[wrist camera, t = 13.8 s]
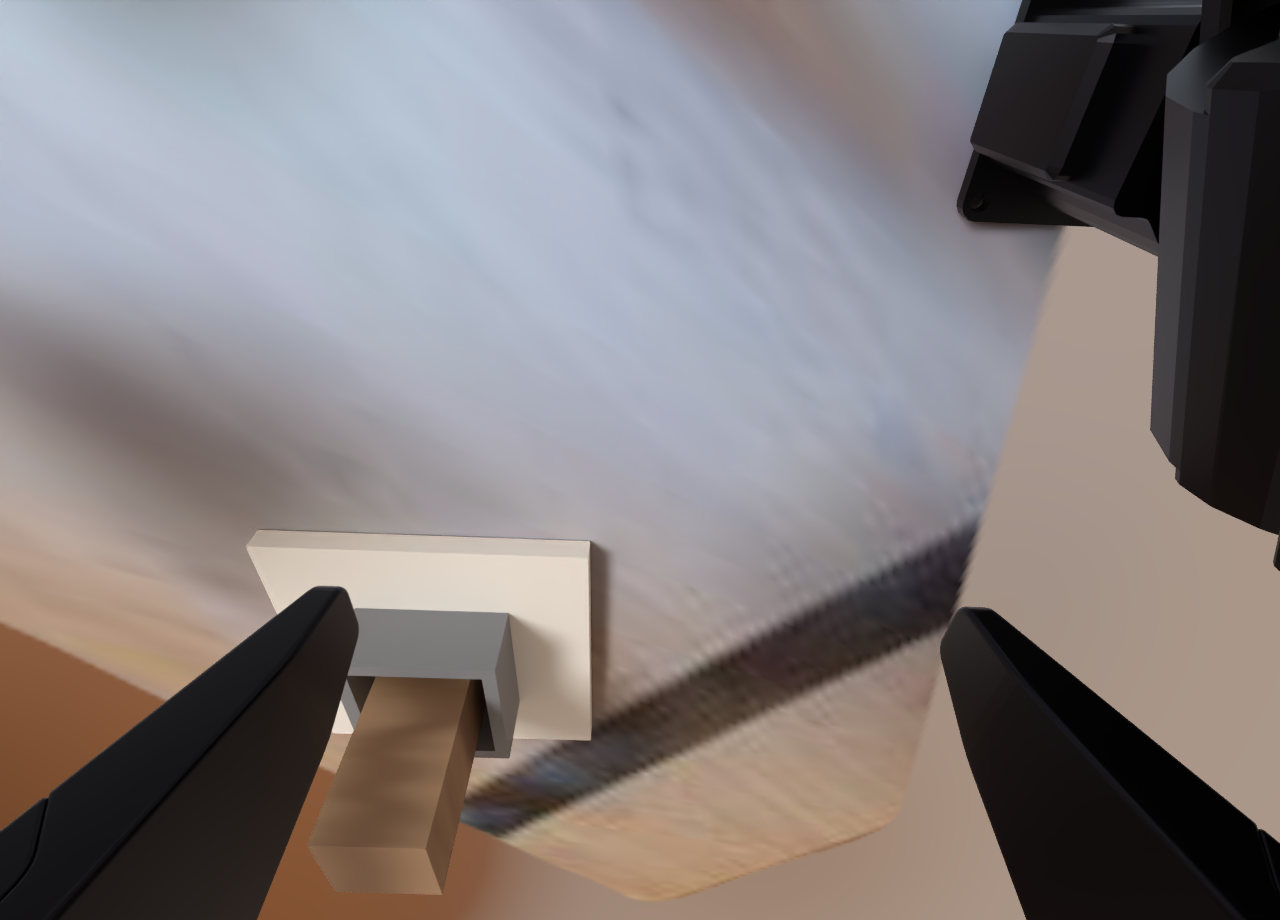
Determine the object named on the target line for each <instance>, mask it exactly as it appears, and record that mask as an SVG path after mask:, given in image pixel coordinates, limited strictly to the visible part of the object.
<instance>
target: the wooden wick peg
mask: <svg viewBox="0 0 1280 920" xmlns="http://www.w3.org/2000/svg"><path fill="white" fill-rule="evenodd" d="M485 707H486V699H485V694H484V689H483V683H482V680H481V679H448V678H414V677H381V676H376V677H375V680H374V682H373V685H372V687H371V690H370V692H369V694H368V697H367V699H366V702H365V704H364V707H363V709H362V712H361V714H360V716H359V719H358V721H357V724H356V726H355V729H354V731H353V734H352V736H351V738H350V741H349V743H348V746H347V748H346V751H345V753H344V756H343V758H342V760H341V763H340V765H339V768H338V770H337V773H336V775H335V778H334V780H333V782H332V785H331V787H330V790H329V793H328V795H327V797H326V800H325V802H324V804H323V807H322V809H321V812H320V814H319V817H318V819H317V822H316V824H315V826H314V829H313V832H312V834H311V837H310V839H309V841H308V844H307V847H308V848H309V850H310V852H311V853H312V855H313V856H314V858H315V860H316V861H317V863H318V864H319V866H320V868H321V869H322V871H323V872H324V874H325V875H326V877H327V879H328V880H329V882H330V884H331V885H332V887H333V888H334V890H335V892H363V893H364V892H365V893H402V894H440V895H441V894H442V893H443V889H444V884H445V880H446V876H447V871H448V867H449V863H450V858H451V854H452V849H453V846H454V841H455V837H456V833H457V828H458V824H459V820H460V815H461V811H462V807H463V802H464V798H465V794H466V789H467V785H468V781H469V777H470V772H471V768H472V764H473V759H474V755H475V751H476V746H477V742H478V738H479V733H480V729H481V725H482V720H483V716H484V712H485Z"/></svg>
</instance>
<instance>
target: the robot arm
mask: <svg viewBox="0 0 1280 920" xmlns="http://www.w3.org/2000/svg"><path fill="white" fill-rule="evenodd" d="M970 142H971V144H972V146H973V148H974V150H973V153H972V156H971V159H970V162H969V166H968V169H967V172H966V175H965V178H964V181H963V184H962V187H961V190H960V193H959V196H958V199H957V209H958V212H959V213H960V214H961V215H962V216H963V217H965V218H966V219H968V220H971V221H974V222H997V223H1019V224H1042V225H1064V226H1087V227H1096V228H1098V229H1100V230H1102V231H1104V232H1106V233H1108V234H1111V235H1113V236H1115V237H1117V238H1119V239H1121V240H1123V241H1125V242H1128V243H1130V244H1132V245H1134V246H1136V247H1139V248H1141V249H1143V250H1145V251H1147V252H1149V253H1151V254H1153V255H1156V256H1158V274H1157V295H1156V296H1157V297H1156V317H1155V339H1154V361H1153V362H1154V363H1153V383H1152V384H1153V385H1152V404H1151V405H1152V406H1151V428H1150V430H1151V432H1152V433H1153V435H1154V437H1155V438H1156V440H1157V442H1158V444H1159V445H1160V447H1161V448H1162V450H1163V452H1164V454H1165V455H1166V457H1167V458H1168V460H1169V462H1171V464H1173V465H1174V466H1175V467H1176V474H1175V479H1176V480H1177V482H1178V483H1179V484H1180V485H1181V486H1182V487H1184V488H1185V489H1187V490H1188V491H1189V492H1191V493H1192V494H1194V495H1195V496H1197V497H1198V498H1200V499H1201V500H1202V501H1204V502H1205V503H1207V504H1208V505H1210V506H1211V507H1213V508H1215V509H1218V510H1220V511H1222V512H1224V513H1226V514H1229V515H1231V516H1233V517H1235V518H1237V519H1240V520H1242V521H1244V522H1246V523H1248V524H1251V525H1253V526H1255V527H1257V528H1259V529H1262V530H1265V531H1268V532H1271V533H1274V534H1277V535H1279V537H1278V542H1277V546H1276V551H1275V556H1274V560H1273V563H1274V566H1275V567H1276V568H1277V569H1278V570H1279V571H1280V0H1022V3H1021V6H1020V9H1019V12H1018V16H1017V19H1016V22H1015V24H1014V25H1013V26H1012V27H1011V28H1010V29H1009V30H1008V31H1007V32H1006V33H1005V34H1004V36H1003V39H1002V42H1001V45H1000V49H999V52H998V55H997V58H996V61H995V64H994V67H993V70H992V73H991V77H990V80H989V83H988V86H987V89H986V92H985V95H984V98H983V102H982V105H981V108H980V111H979V114H978V117H977V120H976V123H975V126H974V130H973V133H972V136H971V139H970ZM980 194H983V195H984V200H983V202H982V204H981V205H980V206H979V207H977V208H975V209H972V208H971V205H972V202H973V200H974V198H975V197H977V196H978V195H980ZM358 636H359V623H358V620H357V617H356V614H355V611H354V608H353V605H352V603H351V600H350V597H349V594H348V592H347V590H346V589H345V588H343V587H340V586H316V587H313V588H311V589H310V590H308V591H307V592H306V593H304V594H303V595H302V596H300V597H299V598H298V599H297V600H295V601H294V602H293V603H292V604H290V605H289V606H288V607H286V608H285V609H284V610H283V611H281V612H280V613H279V614H277V615H276V616H275V617H274V618H272V619H271V620H270V621H268V622H267V623H266V624H265V625H263V626H262V627H261V628H260V629H258V630H257V631H256V632H254V633H253V634H252V635H251V636H249V637H248V638H247V639H245V640H244V641H243V642H242V643H240V644H239V645H238V646H237V647H235V648H234V649H233V650H231V651H230V652H229V653H228V654H226V655H225V656H224V657H222V658H221V659H220V660H219V661H217V662H216V663H215V664H213V665H212V666H211V667H210V668H208V669H207V670H206V671H205V672H203V673H202V674H201V675H199V676H198V677H197V678H196V679H194V680H193V681H192V682H190V683H189V684H188V685H187V686H185V687H184V688H183V689H182V690H180V691H179V692H178V693H176V694H175V695H174V696H173V697H171V698H170V699H169V700H167V701H166V702H165V703H164V704H162V705H161V706H160V707H158V709H156V710H155V711H153V712H152V713H151V714H150V715H148V716H147V717H146V718H144V719H143V720H142V721H141V722H139V723H138V724H137V725H136V726H134V727H133V728H132V729H130V730H129V731H128V732H127V733H125V734H124V735H123V736H121V737H120V738H119V739H118V740H116V741H115V742H114V743H112V744H111V745H110V746H109V747H107V748H106V749H105V750H104V751H102V752H101V753H100V754H98V755H97V756H96V757H95V758H93V759H92V760H91V761H89V762H88V763H87V764H86V765H84V766H83V767H82V768H80V769H79V770H78V771H77V772H75V773H74V774H73V775H72V776H70V777H69V778H68V779H66V780H65V781H64V782H63V783H61V784H60V785H59V786H57V787H56V788H55V789H54V790H52V791H51V793H50V794H49V797H48V798H42V799H41V800H39V801H38V802H37V803H35V804H34V805H33V806H31V807H30V808H29V809H28V810H26V811H25V812H24V813H23V814H21V815H20V816H19V817H18V818H17V819H15V820H14V821H12V822H11V823H10V824H9V825H7V826H6V827H5V828H3V829H2V830H1V831H0V920H257V918H258V916H259V913H260V910H261V908H262V906H263V903H264V901H265V898H266V896H267V893H268V891H269V888H270V886H271V883H272V881H273V878H274V876H275V873H276V871H277V868H278V866H279V863H280V861H281V859H282V856H283V854H284V851H285V849H286V846H287V844H288V841H289V839H290V836H291V834H292V831H293V829H294V826H295V824H296V821H297V819H298V816H299V814H300V811H301V809H302V806H303V804H304V801H305V799H306V797H307V794H308V792H309V789H310V787H311V784H312V782H313V779H314V777H315V774H316V772H317V769H318V767H319V764H320V762H321V759H322V757H323V754H324V752H325V749H326V746H327V744H328V741H329V738H330V735H331V732H332V728H333V725H334V722H335V718H336V715H337V711H338V708H339V704H340V701H341V697H342V694H343V690H344V686H345V683H346V679H347V676H348V672H349V669H350V665H351V662H352V658H353V655H354V651H355V647H356V644H357V640H358ZM940 654H941V660H942V664H943V668H944V672H945V675H946V679H947V683H948V687H949V691H950V695H951V699H952V702H953V707H954V711H955V715H956V718H957V722H958V726H959V730H960V734H961V738H962V742H963V745H964V749H965V752H966V756H967V759H968V762H969V765H970V768H971V771H972V773H973V776H974V779H975V782H976V784H977V787H978V790H979V793H980V795H981V798H982V801H983V803H984V806H985V809H986V811H987V814H988V817H989V820H990V822H991V825H992V828H993V830H994V833H995V836H996V839H997V841H998V844H999V847H1000V849H1001V852H1002V855H1003V857H1004V860H1005V863H1006V866H1007V868H1008V871H1009V874H1010V877H1011V879H1012V882H1013V885H1014V887H1015V890H1016V893H1017V895H1018V898H1019V901H1020V904H1021V906H1022V909H1023V911H1024V915H1025V917H1026V920H1280V843H1279V842H1278V841H1277V840H1275V839H1274V838H1273V837H1272V836H1271V835H1269V834H1268V833H1267V832H1266V831H1264V830H1262V829H1258V828H1257V825H1256V824H1255V823H1254V822H1253V821H1252V820H1251V819H1249V818H1248V817H1247V816H1246V815H1244V814H1243V813H1242V812H1240V811H1239V810H1238V809H1237V808H1236V807H1234V806H1233V805H1232V804H1231V803H1230V802H1228V801H1227V800H1226V799H1225V798H1224V797H1222V796H1221V795H1220V794H1219V793H1217V792H1216V791H1215V790H1214V789H1212V788H1211V787H1210V786H1209V785H1208V784H1206V783H1205V782H1204V781H1203V780H1201V779H1200V778H1199V777H1198V776H1197V775H1195V774H1194V773H1193V772H1192V771H1190V770H1189V769H1188V768H1187V767H1185V766H1184V765H1183V764H1182V763H1181V762H1179V761H1178V760H1177V759H1176V758H1174V757H1173V756H1172V755H1171V754H1169V753H1168V752H1167V751H1166V750H1164V749H1163V748H1162V747H1161V746H1160V745H1158V744H1157V743H1156V742H1155V741H1154V740H1152V739H1151V738H1150V737H1149V736H1147V735H1146V734H1145V733H1144V732H1142V731H1141V730H1140V729H1139V728H1137V727H1136V726H1135V725H1134V724H1133V723H1131V722H1130V721H1128V719H1126V718H1125V717H1124V716H1123V715H1121V714H1120V713H1119V712H1118V711H1117V710H1115V709H1114V708H1113V707H1112V706H1110V705H1109V704H1108V703H1107V702H1106V701H1104V700H1103V699H1102V698H1101V697H1099V696H1098V695H1097V694H1096V693H1095V692H1093V691H1092V690H1091V689H1090V688H1088V687H1087V686H1086V685H1085V684H1083V683H1082V682H1081V681H1080V680H1079V679H1077V678H1076V677H1075V676H1074V675H1072V674H1071V673H1070V672H1069V671H1068V670H1066V669H1065V668H1064V667H1063V666H1061V665H1060V664H1059V663H1058V662H1056V661H1055V660H1054V659H1053V658H1052V657H1050V656H1049V655H1048V654H1046V653H1045V652H1044V651H1043V650H1042V649H1040V648H1039V647H1038V646H1037V645H1036V644H1034V643H1033V642H1032V641H1031V640H1029V639H1028V638H1027V637H1026V636H1025V635H1023V634H1022V633H1021V632H1020V631H1018V630H1017V629H1016V628H1015V627H1013V626H1012V625H1011V624H1010V623H1009V622H1007V621H1006V620H1005V619H1004V618H1002V617H1001V616H1000V615H999V614H997V613H996V612H994V611H993V610H991V609H989V608H983V607H962V608H960V609H959V610H958V611H957V612H956V614H955V616H954V618H953V619H952V621H951V623H950V625H949V627H948V629H947V631H946V633H945V635H944V637H943V639H942V641H941V646H940Z"/></svg>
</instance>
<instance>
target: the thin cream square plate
mask: <svg viewBox="0 0 1280 920" xmlns="http://www.w3.org/2000/svg"><path fill="white" fill-rule="evenodd" d="M246 549H247V551H248V553H249V555H250V557H251V559H252V561H253V564H254V566H255V568H256V570H257V572H258V574H259V576H260V578H261V581H262V583H263V585H264V587H265V589H266V591H267V593H268V596H269V598H270V600H271V602H272V604H273V606H274V608H275V610H276V613H277V614H279V613H280V612H281V611H283V610H284V609H285V608H286V607H288V606H289V605H290V604H292V603H293V602H294V601H295V600H297V599H298V598H299V597H300V596H302V595H303V594H304V593H306V592H307V591H308V590H310V589H311V588H313V587H316V586H340V587H343V588H345V589H346V590H347V592H348V594H349V597H350V600H351V603H352V605H353V608H354V611H355V614H356V617H357V620H358V623H359V636H358V640H357V644H356V647H355V651H354V655H353V658H352V662H351V665H350V669H349V672H348V676H347V679H346V683H345V686H344V690H343V694H342V697H341V701H340V704H339V708H338V711H337V715H336V718H335V722H334V725H333V728H332V732H333V733H344V734H353V731H354V729H355V726H356V724H357V721H358V719H359V716H360V714H361V712H362V709H363V707H364V704H365V702H366V699H367V697H368V694H369V692H370V690H371V687H372V685H373V682H374V680H375V677H376V676H381V677H414V678H448V679H481V680H482V683H483V689H484V694H485V699H486V707H485V712H484V716H483V720H482V725H481V729H480V733H479V738H478V742H477V746H476V751H475V755H474V757H480V758H509V757H510V752H511V746H512V741H513V738H519V739H555V740H590V741H591V730H592V677H591V582H590V541H571V540H542V539H513V538H483V537H454V536H425V535H396V534H367V533H338V532H309V531H280V530H258V531H257V532H256V533H255V534H254V536H253V537H252V538H251V540H250V541H249V542H248V544H247V545H246Z"/></svg>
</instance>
